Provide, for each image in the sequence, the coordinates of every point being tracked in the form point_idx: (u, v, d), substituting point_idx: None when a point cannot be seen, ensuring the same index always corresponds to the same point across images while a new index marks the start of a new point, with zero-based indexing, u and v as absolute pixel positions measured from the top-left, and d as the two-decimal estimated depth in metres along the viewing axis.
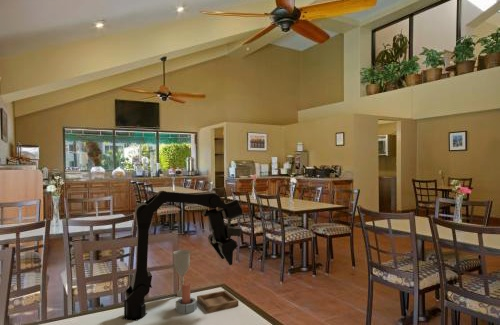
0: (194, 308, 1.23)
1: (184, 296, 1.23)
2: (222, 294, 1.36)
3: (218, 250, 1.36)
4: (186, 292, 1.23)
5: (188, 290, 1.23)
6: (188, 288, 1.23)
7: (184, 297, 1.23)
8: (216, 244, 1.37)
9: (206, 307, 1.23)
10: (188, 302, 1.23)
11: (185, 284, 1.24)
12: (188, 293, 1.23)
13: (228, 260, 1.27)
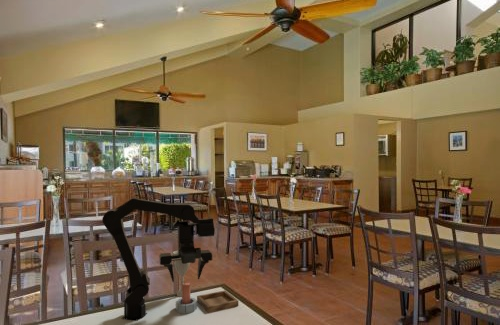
0: (194, 308, 1.23)
1: (184, 296, 1.23)
2: (222, 294, 1.36)
3: (198, 268, 1.27)
4: (186, 292, 1.23)
5: (188, 290, 1.23)
6: (188, 288, 1.23)
7: (184, 297, 1.23)
8: (199, 260, 1.27)
9: (206, 307, 1.23)
10: (188, 302, 1.23)
11: (185, 284, 1.24)
12: (188, 293, 1.23)
13: None
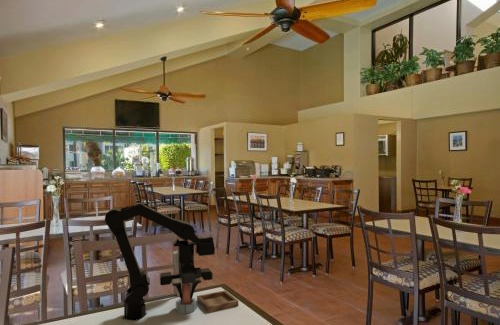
0: (194, 308, 1.23)
1: (184, 296, 1.23)
2: (222, 294, 1.36)
3: (190, 287, 1.26)
4: (186, 292, 1.23)
5: (188, 290, 1.23)
6: (188, 288, 1.23)
7: (184, 297, 1.23)
8: None
9: (206, 307, 1.23)
10: (188, 302, 1.23)
11: (185, 284, 1.24)
12: (188, 293, 1.23)
13: None
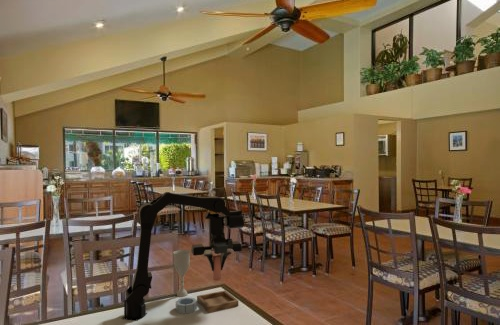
0: (194, 308, 1.23)
1: (215, 267, 1.28)
2: (222, 294, 1.36)
3: None
4: (217, 263, 1.28)
5: (219, 261, 1.28)
6: (219, 259, 1.28)
7: (215, 267, 1.28)
8: None
9: (206, 307, 1.23)
10: (219, 272, 1.28)
11: (216, 255, 1.29)
12: (219, 264, 1.28)
13: (210, 264, 1.29)
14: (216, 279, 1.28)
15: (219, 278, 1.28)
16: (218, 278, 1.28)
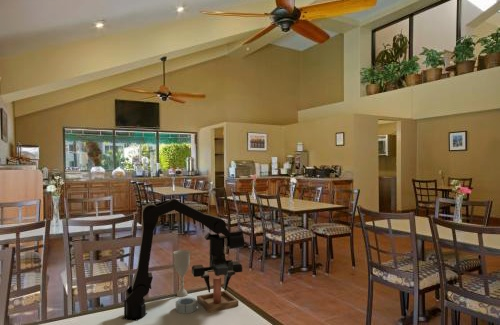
0: (194, 308, 1.23)
1: (215, 290, 1.28)
2: (222, 294, 1.36)
3: (224, 279, 1.31)
4: (217, 286, 1.28)
5: (219, 284, 1.28)
6: (219, 282, 1.28)
7: (215, 291, 1.28)
8: None
9: (206, 307, 1.23)
10: (219, 295, 1.28)
11: (216, 278, 1.29)
12: (219, 287, 1.28)
13: (206, 285, 1.29)
14: (216, 302, 1.28)
15: (219, 301, 1.28)
16: (218, 301, 1.28)
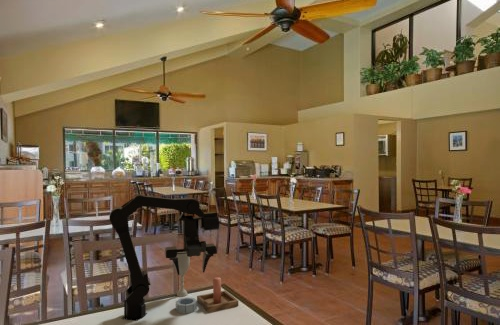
0: (194, 308, 1.23)
1: (215, 290, 1.28)
2: (222, 294, 1.36)
3: (203, 261, 1.28)
4: (217, 286, 1.28)
5: (219, 284, 1.28)
6: (219, 282, 1.28)
7: (215, 291, 1.28)
8: (204, 254, 1.29)
9: (206, 307, 1.23)
10: (219, 295, 1.28)
11: (216, 278, 1.29)
12: (219, 287, 1.28)
13: None
14: (216, 302, 1.28)
15: (219, 301, 1.28)
16: (218, 301, 1.28)
